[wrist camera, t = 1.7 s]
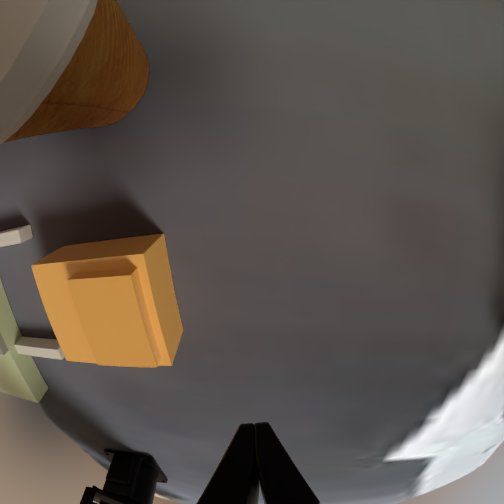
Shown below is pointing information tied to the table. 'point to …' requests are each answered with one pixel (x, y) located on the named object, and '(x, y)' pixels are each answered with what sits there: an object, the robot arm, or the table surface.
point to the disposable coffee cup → (66, 66)
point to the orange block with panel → (112, 301)
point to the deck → (21, 342)
